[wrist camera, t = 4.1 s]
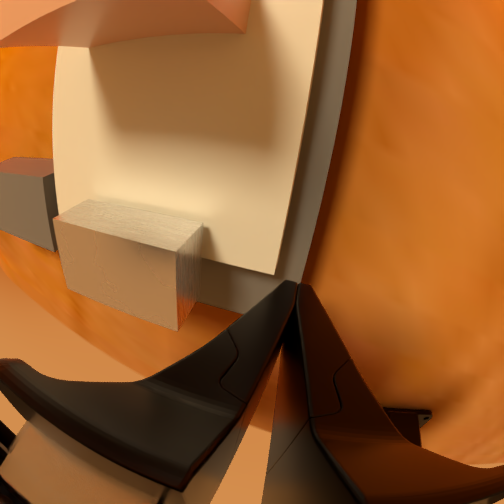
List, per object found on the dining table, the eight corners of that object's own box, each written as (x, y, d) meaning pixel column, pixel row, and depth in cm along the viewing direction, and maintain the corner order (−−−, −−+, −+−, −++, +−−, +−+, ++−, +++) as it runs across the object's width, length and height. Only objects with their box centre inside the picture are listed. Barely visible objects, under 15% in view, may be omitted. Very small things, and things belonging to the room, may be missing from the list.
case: (293, 297, 14) (284, 341, 11) (22, 221, 16) (-6, 238, 14) (357, -42, 6) (364, -77, 3) (25, 12, 8) (-8, 11, 6)
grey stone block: (199, 296, 11) (177, 331, 9) (96, 263, 11) (67, 288, 10) (203, 222, 9) (175, 251, 7) (88, 198, 10) (52, 218, 8)
